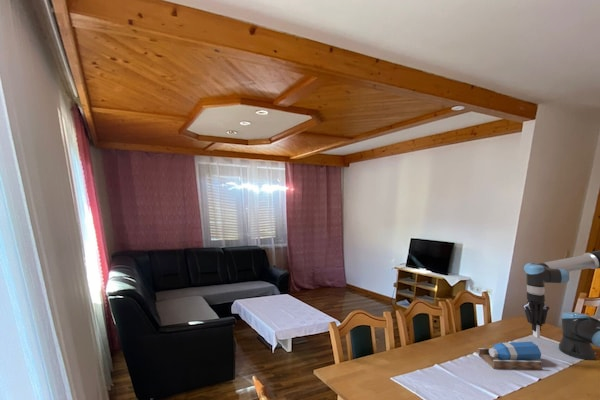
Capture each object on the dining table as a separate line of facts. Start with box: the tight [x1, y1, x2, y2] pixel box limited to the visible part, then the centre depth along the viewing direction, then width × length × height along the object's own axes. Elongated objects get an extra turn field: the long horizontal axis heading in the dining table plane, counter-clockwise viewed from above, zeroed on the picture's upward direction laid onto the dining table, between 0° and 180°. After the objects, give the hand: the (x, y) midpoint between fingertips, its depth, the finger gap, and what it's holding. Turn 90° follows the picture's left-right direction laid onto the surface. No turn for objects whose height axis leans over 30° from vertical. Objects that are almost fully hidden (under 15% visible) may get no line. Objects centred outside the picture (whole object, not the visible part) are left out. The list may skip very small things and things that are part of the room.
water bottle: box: [489, 341, 542, 361], centre depth 152 cm, size 9×9×25 cm
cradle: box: [478, 347, 543, 371], centre depth 151 cm, size 24×13×4 cm, turn 89°
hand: (536, 336), depth 151 cm, fingers closed
